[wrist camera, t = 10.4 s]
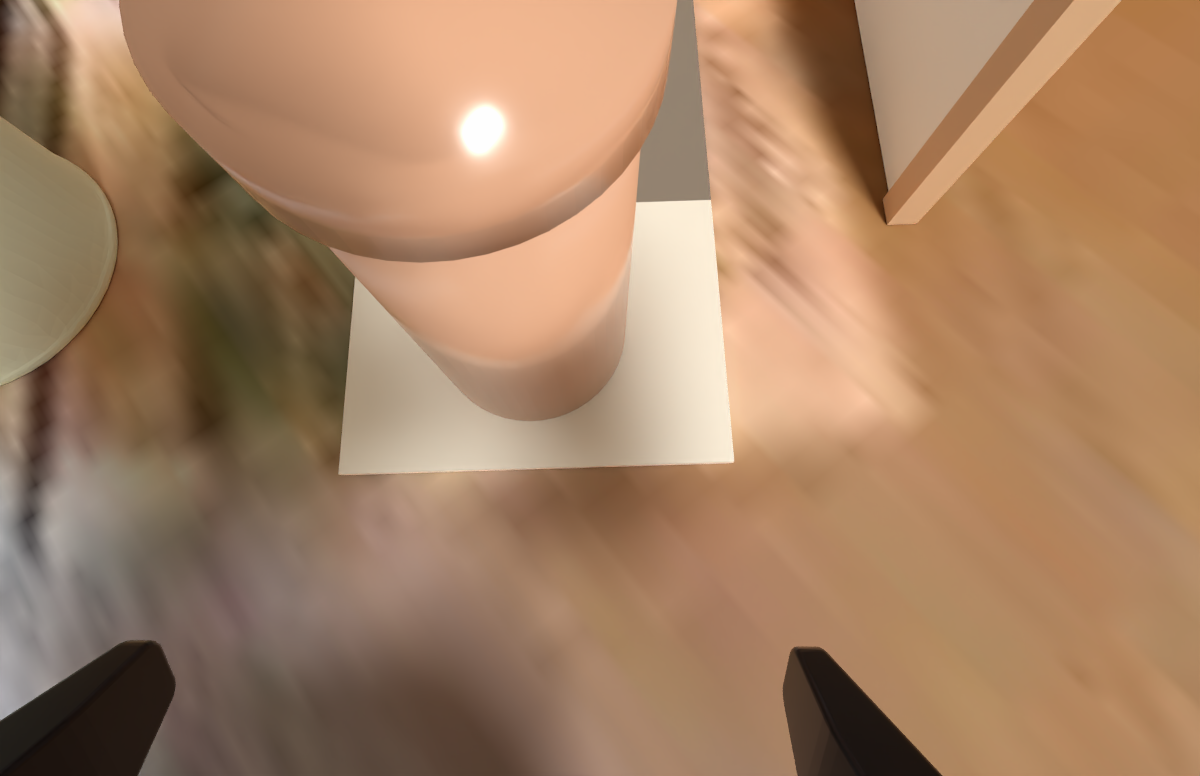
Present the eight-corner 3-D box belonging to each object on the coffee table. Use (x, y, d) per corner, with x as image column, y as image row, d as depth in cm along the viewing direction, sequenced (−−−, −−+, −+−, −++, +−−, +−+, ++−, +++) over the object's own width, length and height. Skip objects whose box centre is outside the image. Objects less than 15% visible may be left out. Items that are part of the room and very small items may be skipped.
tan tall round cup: (469, 463, 19) (188, 284, 6) (403, 279, 20) (73, -162, 8) (667, 382, 19) (780, 67, 7) (588, 209, 21) (559, -305, 8)
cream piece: (960, 455, 19) (1259, 366, 10) (342, 475, 19) (119, 402, 10) (859, -74, 25) (996, -417, 16) (386, -58, 25) (267, -391, 16)
